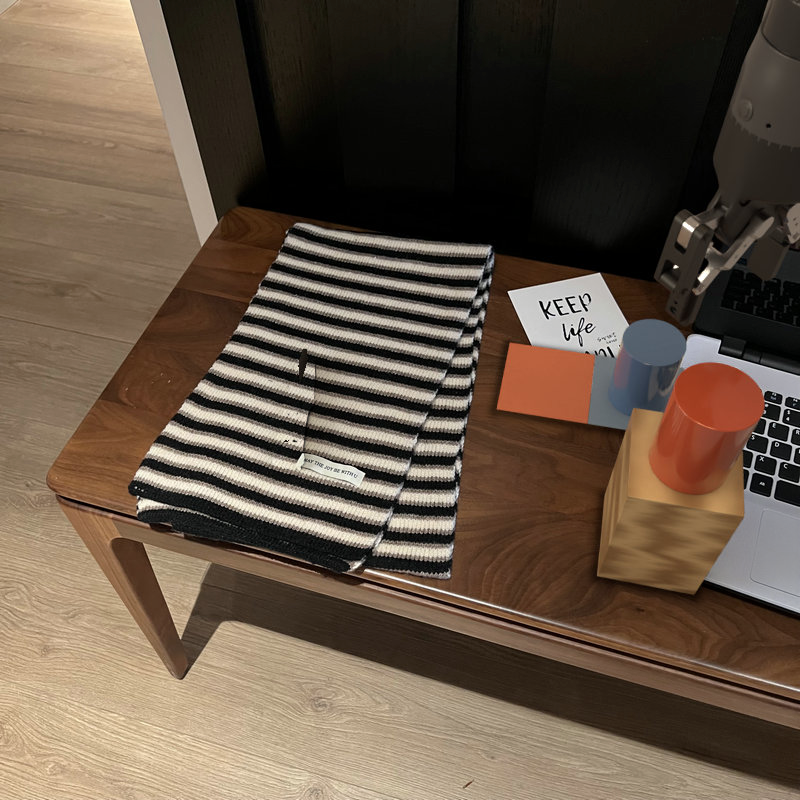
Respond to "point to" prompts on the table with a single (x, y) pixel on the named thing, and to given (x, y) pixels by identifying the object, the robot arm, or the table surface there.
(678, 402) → the orange cylinder
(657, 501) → the stand
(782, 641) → the table surface
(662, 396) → the upturned slate cup
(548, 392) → the board
